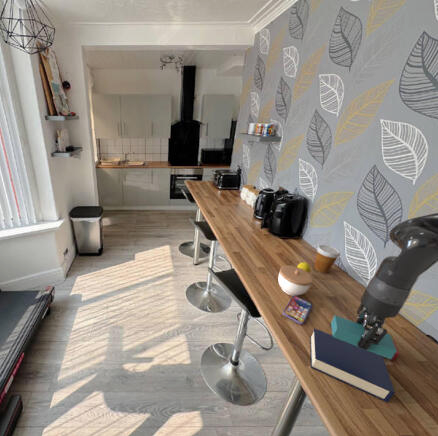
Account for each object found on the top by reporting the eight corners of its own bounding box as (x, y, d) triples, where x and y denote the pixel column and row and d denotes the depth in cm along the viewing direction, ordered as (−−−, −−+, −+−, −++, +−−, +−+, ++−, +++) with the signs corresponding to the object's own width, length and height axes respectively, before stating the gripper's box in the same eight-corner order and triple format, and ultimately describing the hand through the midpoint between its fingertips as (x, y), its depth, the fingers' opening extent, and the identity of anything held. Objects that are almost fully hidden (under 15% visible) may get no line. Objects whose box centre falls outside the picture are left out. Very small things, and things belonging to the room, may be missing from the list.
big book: (376, 364, 75) (382, 354, 73) (387, 402, 65) (395, 392, 63) (309, 337, 83) (314, 328, 81) (310, 367, 73) (315, 358, 71)
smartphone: (312, 305, 97) (302, 325, 88) (293, 296, 102) (281, 314, 92) (313, 304, 97) (303, 324, 87) (294, 294, 102) (282, 312, 92)
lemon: (296, 271, 119) (301, 258, 116) (309, 276, 115) (314, 263, 112) (292, 275, 116) (297, 262, 113) (305, 281, 112) (310, 267, 109)
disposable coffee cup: (306, 265, 124) (313, 245, 120) (319, 262, 127) (326, 243, 122) (323, 276, 116) (331, 255, 111) (336, 273, 119) (345, 253, 114)
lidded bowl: (284, 300, 100) (292, 279, 95) (269, 281, 111) (275, 261, 107) (313, 300, 100) (322, 279, 96) (295, 281, 112) (302, 262, 107)
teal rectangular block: (384, 343, 69) (390, 334, 67) (390, 359, 64) (396, 350, 62) (330, 323, 75) (334, 315, 73) (332, 336, 70) (337, 328, 68)
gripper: (414, 318, 55) (382, 365, 62) (395, 284, 66) (370, 327, 73) (373, 305, 58) (347, 351, 65) (361, 275, 70) (340, 317, 76)
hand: (359, 338), depth 69 cm, fingers closed on teal rectangular block, 6 cm apart
